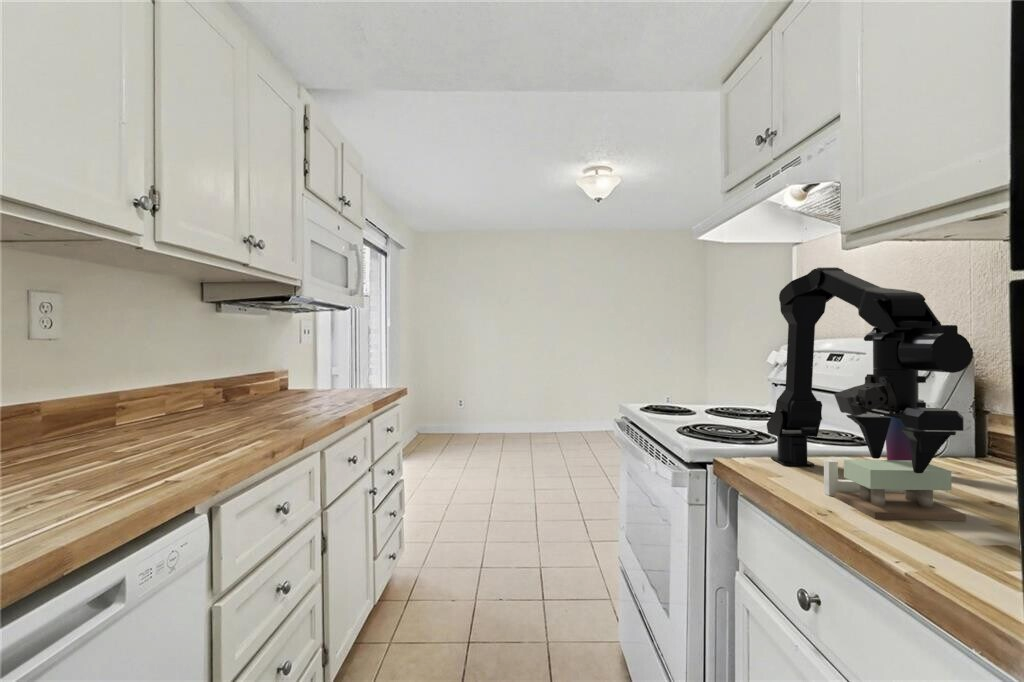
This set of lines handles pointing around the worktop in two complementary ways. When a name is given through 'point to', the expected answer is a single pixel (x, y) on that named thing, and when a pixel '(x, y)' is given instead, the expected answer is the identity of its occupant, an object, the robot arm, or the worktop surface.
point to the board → (896, 475)
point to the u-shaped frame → (841, 481)
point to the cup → (898, 441)
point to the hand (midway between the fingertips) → (895, 465)
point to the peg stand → (899, 505)
